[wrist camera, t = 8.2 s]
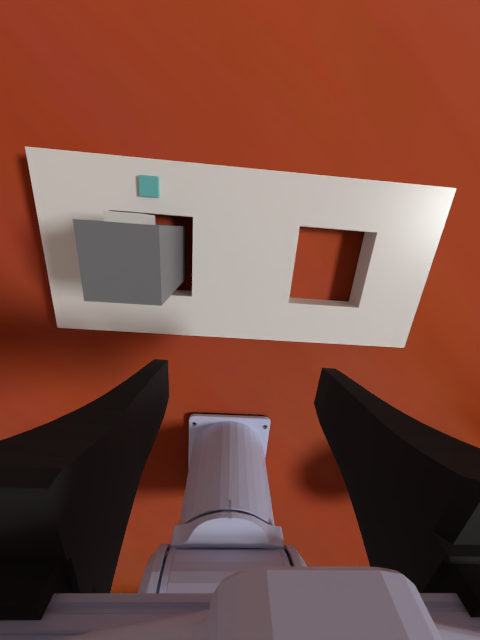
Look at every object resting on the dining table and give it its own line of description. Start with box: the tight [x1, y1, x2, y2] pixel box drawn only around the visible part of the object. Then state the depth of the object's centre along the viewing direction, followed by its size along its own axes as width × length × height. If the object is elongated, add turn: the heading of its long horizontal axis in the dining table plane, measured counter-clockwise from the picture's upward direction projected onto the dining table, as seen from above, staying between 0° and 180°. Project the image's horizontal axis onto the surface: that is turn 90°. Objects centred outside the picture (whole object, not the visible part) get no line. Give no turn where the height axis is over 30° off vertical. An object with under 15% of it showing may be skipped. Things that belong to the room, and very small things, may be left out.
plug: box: [73, 211, 186, 306], centre depth 16 cm, size 4×4×8 cm
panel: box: [25, 147, 457, 348], centre depth 19 cm, size 12×28×2 cm, turn 86°
